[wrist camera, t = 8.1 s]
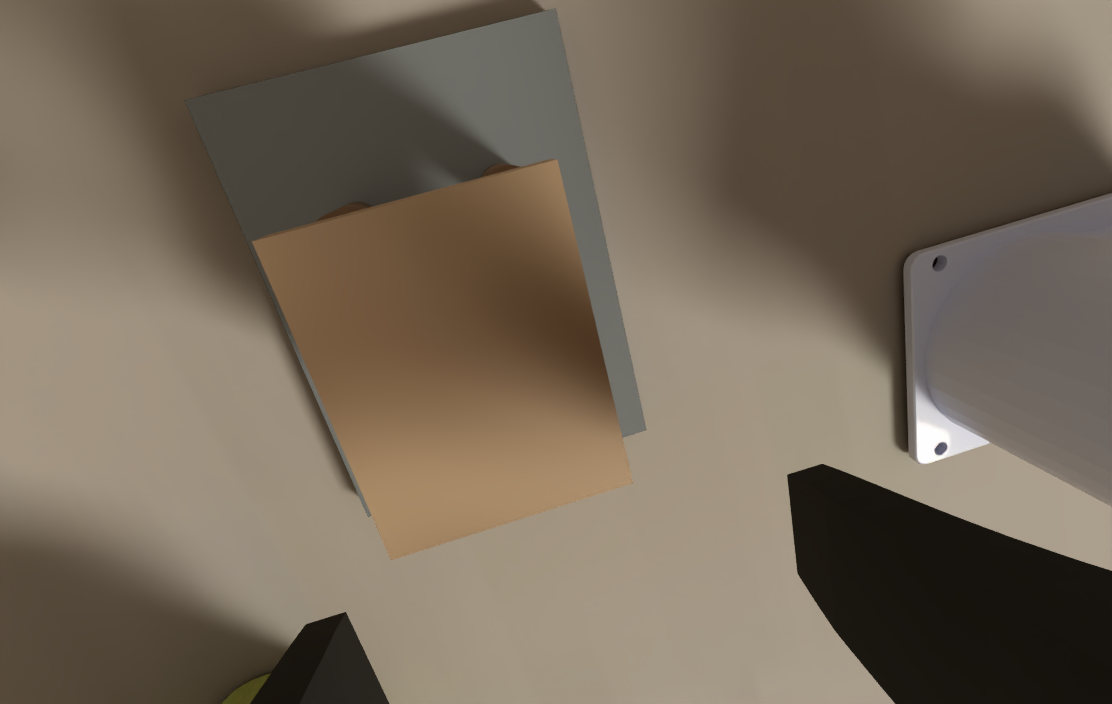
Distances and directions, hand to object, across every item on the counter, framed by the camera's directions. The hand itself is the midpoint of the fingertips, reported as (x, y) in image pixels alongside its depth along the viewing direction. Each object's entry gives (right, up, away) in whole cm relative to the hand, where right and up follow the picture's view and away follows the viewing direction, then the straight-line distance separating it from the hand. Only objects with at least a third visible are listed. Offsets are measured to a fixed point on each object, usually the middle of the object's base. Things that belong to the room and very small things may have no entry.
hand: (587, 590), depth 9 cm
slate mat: (-4, +6, +7) cm, 10 cm away
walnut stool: (-3, +5, +7) cm, 9 cm away
